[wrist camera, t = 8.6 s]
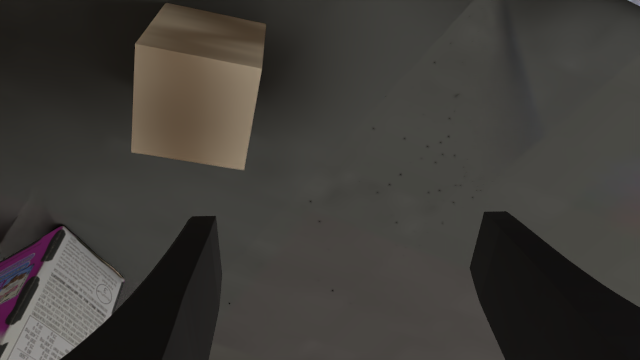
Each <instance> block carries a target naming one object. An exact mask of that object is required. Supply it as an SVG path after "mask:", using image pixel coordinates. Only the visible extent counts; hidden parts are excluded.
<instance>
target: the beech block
mask: <svg viewBox="0 0 640 360" xmlns="http://www.w3.org/2000/svg"><path fill="white" fill-rule="evenodd" d="M265 31H266V24H264V23H259V22H255V21H250V20H245V19H241V18H236V17H231V16H227V15H222V14H217V13H213V12H208V11H203V10H199V9H194V8H189V7H184V6H180V5H175V4H170V3H165V4H164V6H163V7H162V8H161V10H160V11H159V12H158V14H157V15H156V16H155V18H154V19H153V20H152V22H151V23H150V24H149V26H148V27H147V29H146V30H145V31H144V33H143V34H142V35H141V37H140V38H139V39H138V41H137V42H136V43H135V63H134V91H133V119H132V147H131V152H134V153H140V154H146V155H152V156H159V157H165V158H171V159H177V160H183V161H190V162H196V163H202V164H208V165H215V166H221V167H227V168H233V169H239V170H244V167H245V161H246V156H247V150H248V144H249V139H250V133H251V128H252V122H253V116H254V111H255V105H256V100H257V94H258V89H259V83H260V77H261V72H262V64H263V53H264V42H265Z"/></svg>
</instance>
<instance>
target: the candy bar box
mask: <svg viewBox="0 0 640 360" xmlns="http://www.w3.org/2000/svg"><path fill="white" fill-rule="evenodd" d="M123 284H124V278H123V277H122V276H121V275H120V274H119V273H118V272H117V271H116V270H115V269H114V268H113V267H112V266H110V265H109V264H108V263H107V262H105V261H104V260H103V259H101V258H100V257H99V256H98V255H96V254H95V253H94V252H93V251H92V250H90V249H89V248H88V247H87V246H86V245H85V244H84V243H83V242H82V241H81V240H80V239H79V238H78V237H76V236H75V235H74V234H73V233H71V232H70V231H69V230H68V229H67V228H66V227H64V226H61V227H59V228H57V229H55V230H53V231H52V232H50V233H48V234H47V235H45V236H43V237H42V238H40V239H38V240H37V241H35V242H33V243H32V244H30V245H28V246H27V247H25V248H23V249H21V250H19V251H18V252H16V253H15V254H13V255H11V256H9V257H8V258H6V259H4V260H2V261H1V262H0V360H60V359H61V358H62V357H64V356H65V355H66V354H68V353H69V352H70V351H71V350H73V349H74V348H75V347H76V346H77V345H79V344H80V343H81V342H82V341H83V340H85V339H86V338H87V337H88V336H89V335H90V334H91V333H93V332H94V331H95V330H96V329H97V328H98V327H99V326H101V325H102V324H103V323H104V322H105V321H106V320H107V319H108V318H109V317H110V316H111V315H112V314H113V313H114V311H115V308H116V305H117V302H118V299H119V296H120V293H121V290H122V287H123Z"/></svg>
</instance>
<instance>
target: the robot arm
mask: <svg viewBox="0 0 640 360" xmlns="http://www.w3.org/2000/svg"><path fill="white" fill-rule="evenodd" d="M628 1H630V2H632V3H634V4H636V5H639V6H640V0H628ZM470 270H471V274H472V278H473V281H474V285H475V288H476V292H477V295H478V298H479V301H480V304H481V306H482V308H483V311H484V313H485V315H486V317H487V320H488V322H489V324H490V327H491V329H492V331H493V333H494V335H495V338H496V340H497V342H498V344H499V346H500V349H501V351H502V353H503V355H504V358H505V360H640V307H638V306H636V305H635V304H633V303H631V302H630V301H628V300H626V299H625V298H623V297H621V296H620V295H618V294H616V293H615V292H613V291H612V290H610V289H609V288H607V287H606V286H604V285H603V284H601V283H600V282H598V281H597V280H596V279H594V278H593V277H591V276H590V275H588V274H587V273H586V272H584V271H583V270H581V269H580V268H579V267H577V266H576V265H574V264H573V263H572V262H570V261H569V260H568V259H566V258H565V257H564V256H563V255H561V254H560V253H559V252H557V251H556V250H555V249H554V248H552V247H551V246H550V245H548V244H547V243H546V242H545V241H543V240H542V239H541V238H540V237H538V236H537V235H536V234H535V233H533V232H532V231H531V230H530V229H528V228H527V227H526V226H525V225H523V224H522V223H521V222H520V221H518V220H517V219H516V218H515V217H513V216H512V215H510V214H509V213H508V212H506V211H504V212H484V215H483V219H482V223H481V226H480V230H479V234H478V238H477V242H476V246H475V250H474V253H473V257H472V261H471V265H470ZM221 281H222V269H221V259H220V250H219V241H218V232H217V223H216V216H194V217H191V218H190V219H189V220H188V221H187V223H186V225H185V226H184V228H183V229H182V231H181V232H180V234H179V235H178V237H177V238H176V240H175V241H174V242H173V244H172V245H171V247H170V248H169V249H168V251H167V252H166V253H165V255H164V256H163V257H162V259H161V260H160V261H159V262H158V264H157V265H156V266H155V268H154V269H153V270H152V271H151V273H150V274H149V275H148V276H147V277H146V279H145V280H144V281H143V282H142V283H141V284H140V285H139V287H138V288H137V289H136V290H135V291H134V292H133V293H132V295H131V296H130V297H129V298H128V299H127V300H126V301H125V302H124V303H123V304H122V305H121V306H120V307H119V308H118V309H117V310H116V311H115V312H114V313H113V314H112V315H111V316H110V317H109V318H108V319H107V320H106V321H105V322H104V323H103V324H102V325H101V326H99V327H98V328H97V329H96V330H95V331H94V332H93V333H91V334H90V335H89V336H88V337H87V338H86V339H85V340H83V341H82V342H81V343H80V344H79V345H77V346H76V347H75V348H74V349H73V350H71V351H70V352H69V353H68V354H66V355H65V356H64V357H62V358H61V359H60V360H208V359H209V355H210V350H211V345H212V340H213V336H214V331H215V326H216V321H217V316H218V311H219V304H220V293H221Z"/></svg>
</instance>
